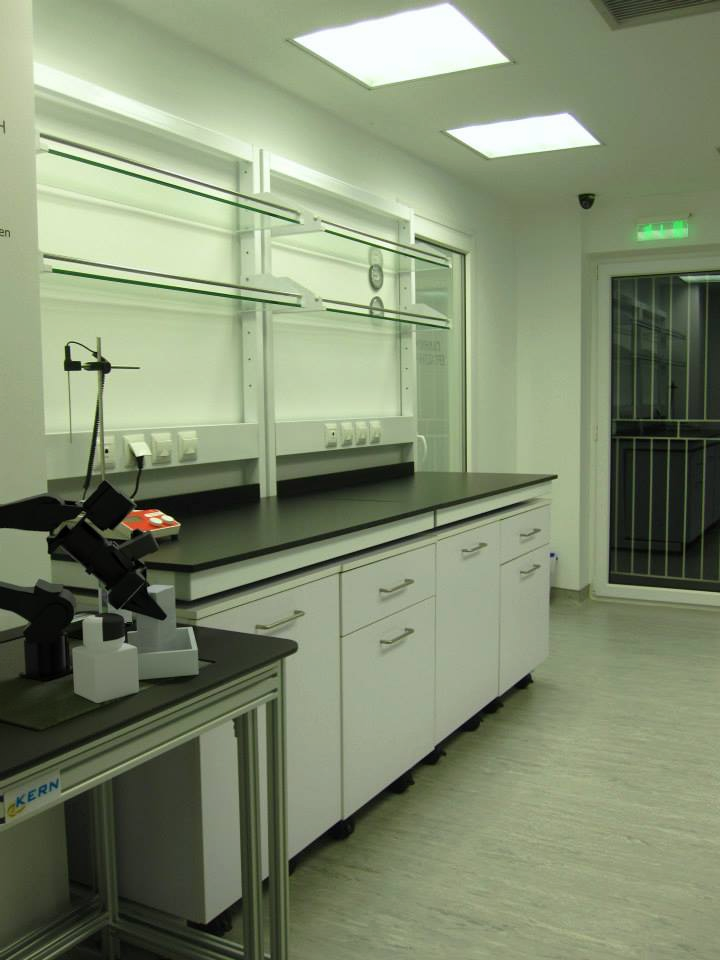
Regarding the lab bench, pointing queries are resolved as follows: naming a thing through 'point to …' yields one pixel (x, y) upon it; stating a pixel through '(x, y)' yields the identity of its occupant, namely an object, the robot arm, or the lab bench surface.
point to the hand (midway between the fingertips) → (164, 613)
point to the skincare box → (158, 623)
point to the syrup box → (107, 608)
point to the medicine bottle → (105, 660)
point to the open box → (169, 657)
